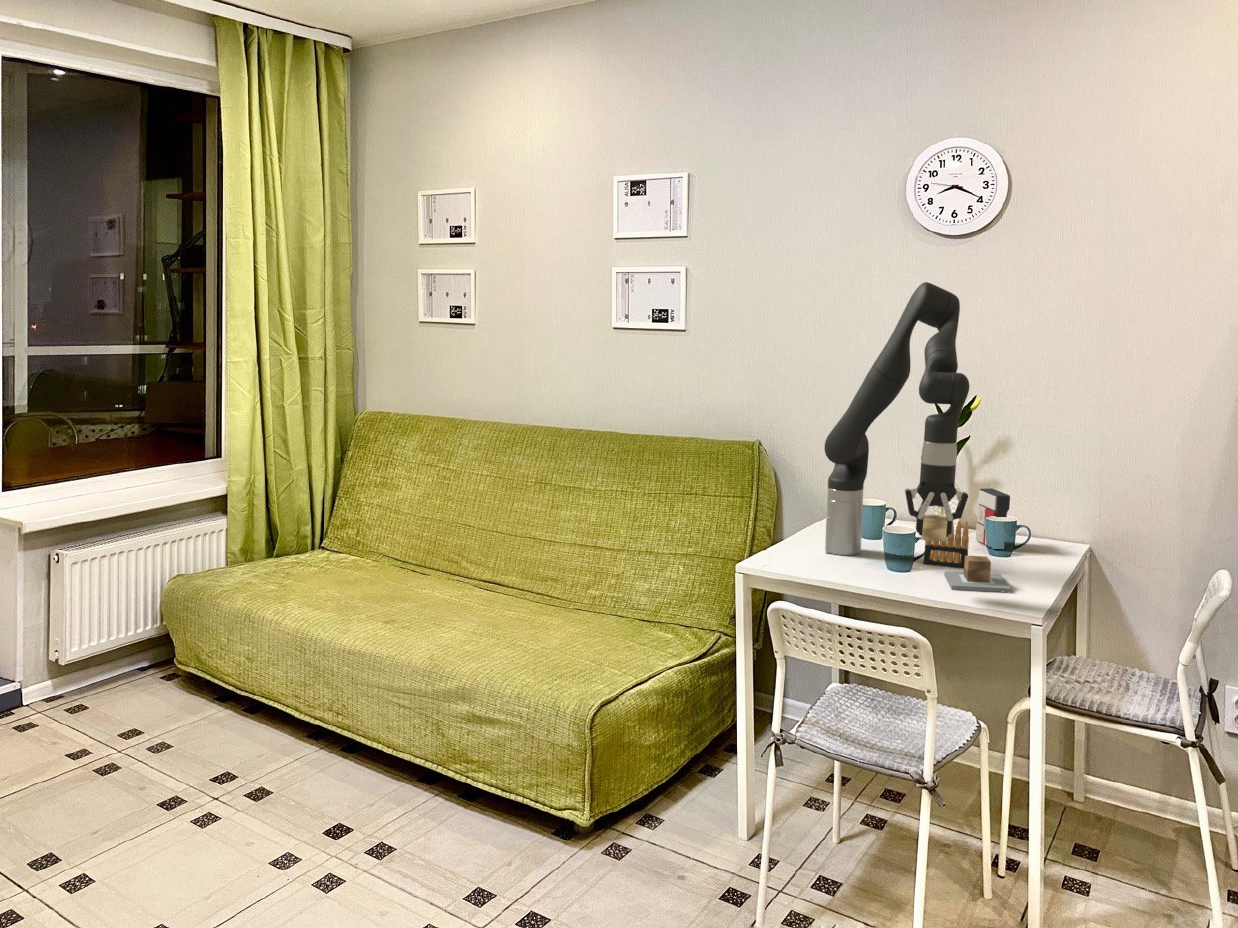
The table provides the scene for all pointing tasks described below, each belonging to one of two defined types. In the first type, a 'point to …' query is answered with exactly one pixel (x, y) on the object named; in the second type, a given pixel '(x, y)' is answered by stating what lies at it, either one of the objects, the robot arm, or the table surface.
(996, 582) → the baseplate
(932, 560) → the ammunition clip
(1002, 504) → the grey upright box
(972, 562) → the walnut block
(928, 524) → the maple block
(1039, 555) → the table surface
